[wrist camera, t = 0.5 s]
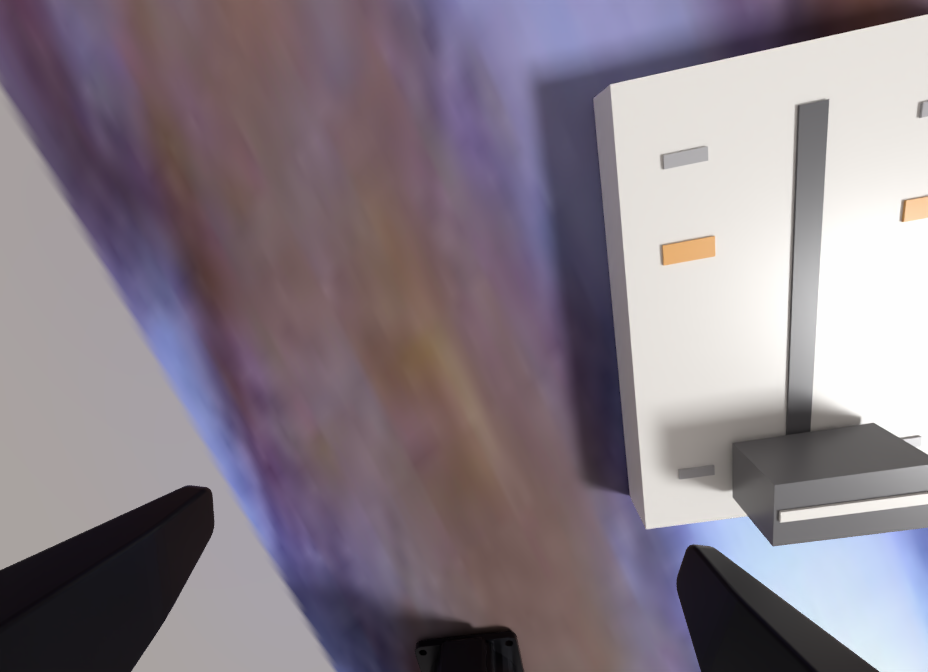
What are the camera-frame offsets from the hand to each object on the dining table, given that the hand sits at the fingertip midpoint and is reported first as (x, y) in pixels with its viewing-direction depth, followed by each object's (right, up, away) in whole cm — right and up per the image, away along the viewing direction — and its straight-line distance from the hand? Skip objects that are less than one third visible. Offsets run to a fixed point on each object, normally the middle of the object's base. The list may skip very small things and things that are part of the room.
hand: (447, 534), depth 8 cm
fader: (+16, -2, +12) cm, 20 cm away
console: (+14, +5, +12) cm, 20 cm away
